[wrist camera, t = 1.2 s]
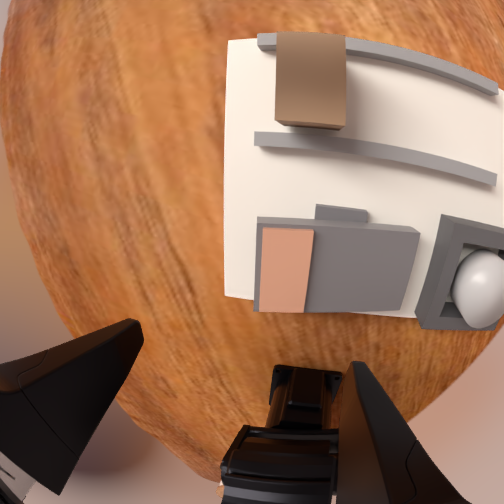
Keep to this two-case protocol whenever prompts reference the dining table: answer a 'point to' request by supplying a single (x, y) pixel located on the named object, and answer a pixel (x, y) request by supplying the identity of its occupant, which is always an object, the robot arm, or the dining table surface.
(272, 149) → the panel
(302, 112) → the slider knob
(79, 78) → the dining table surface
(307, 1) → the dining table surface
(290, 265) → the rocker switch
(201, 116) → the dining table surface
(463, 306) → the push button
